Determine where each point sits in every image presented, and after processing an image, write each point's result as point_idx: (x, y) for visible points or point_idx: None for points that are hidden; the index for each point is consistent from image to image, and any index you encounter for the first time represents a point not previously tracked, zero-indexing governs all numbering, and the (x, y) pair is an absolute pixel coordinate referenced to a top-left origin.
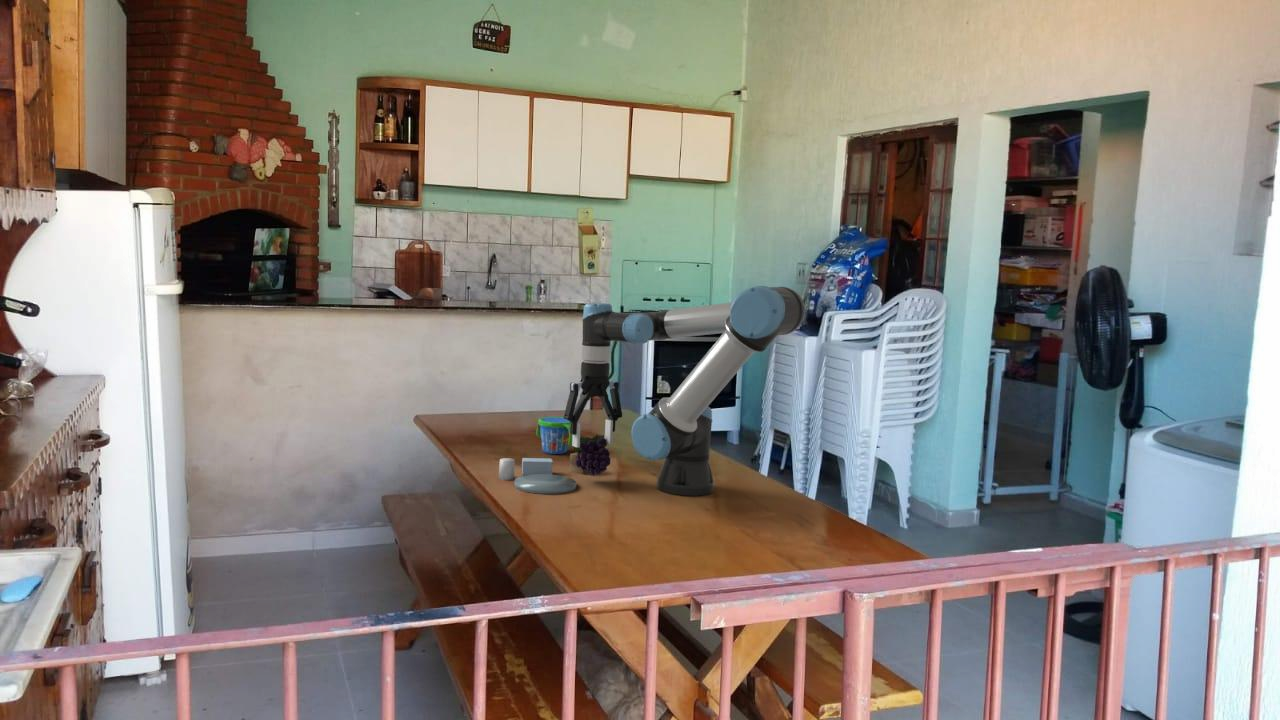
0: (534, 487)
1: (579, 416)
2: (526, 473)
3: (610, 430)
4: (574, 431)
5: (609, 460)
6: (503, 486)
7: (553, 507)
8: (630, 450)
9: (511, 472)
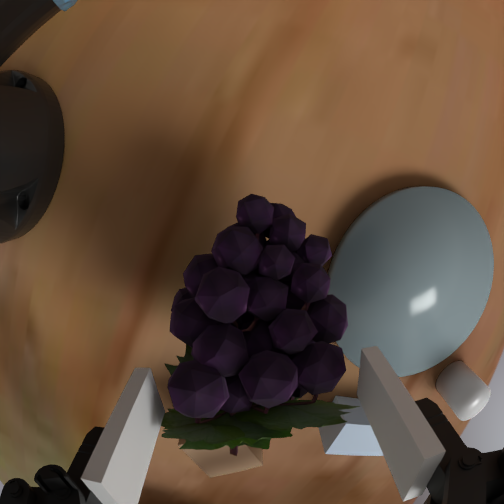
0: (477, 229)
1: (453, 500)
2: None
3: (121, 429)
4: (428, 413)
5: (195, 258)
6: (495, 303)
7: (467, 69)
8: None
9: (461, 373)
